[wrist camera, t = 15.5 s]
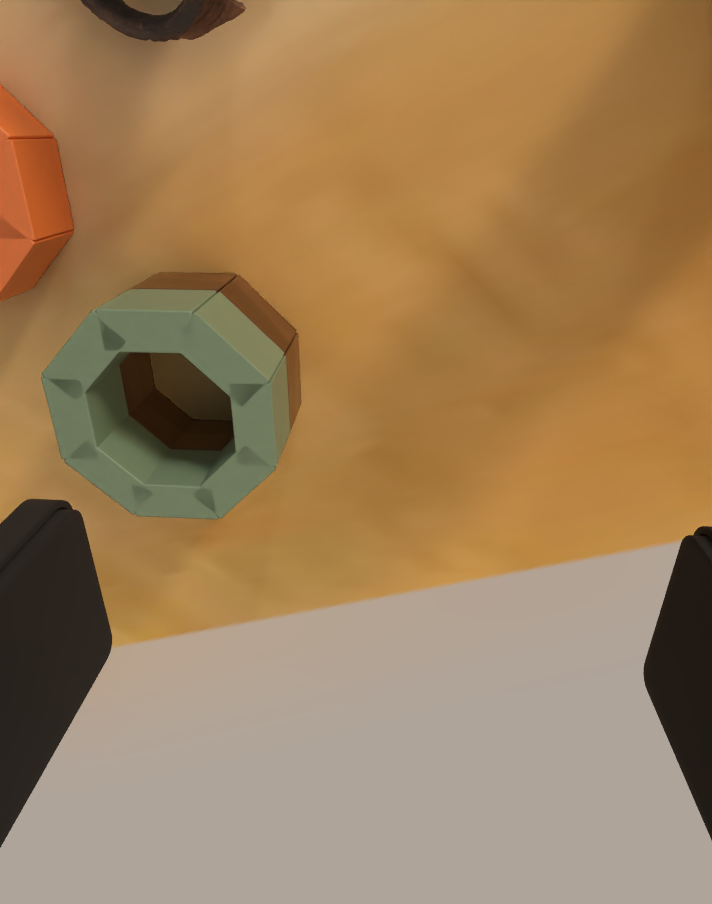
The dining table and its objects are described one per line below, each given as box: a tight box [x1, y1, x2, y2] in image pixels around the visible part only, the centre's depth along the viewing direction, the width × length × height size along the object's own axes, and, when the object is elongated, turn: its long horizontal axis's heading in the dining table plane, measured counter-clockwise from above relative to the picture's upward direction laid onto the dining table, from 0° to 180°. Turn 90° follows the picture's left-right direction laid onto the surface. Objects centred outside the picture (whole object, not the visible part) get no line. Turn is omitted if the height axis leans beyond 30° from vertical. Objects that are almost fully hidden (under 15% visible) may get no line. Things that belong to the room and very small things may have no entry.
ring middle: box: [41, 289, 290, 519], centre depth 31 cm, size 11×11×4 cm
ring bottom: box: [119, 272, 301, 451], centre depth 35 cm, size 11×11×4 cm
